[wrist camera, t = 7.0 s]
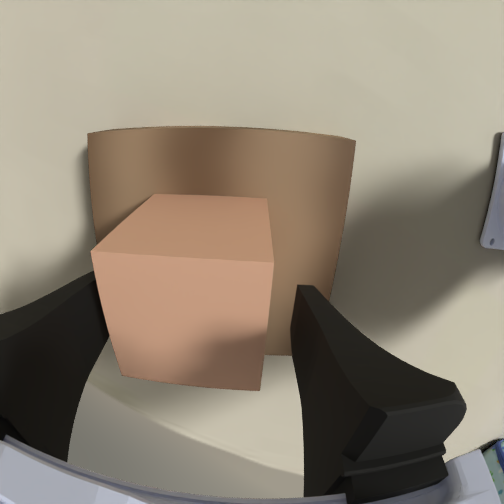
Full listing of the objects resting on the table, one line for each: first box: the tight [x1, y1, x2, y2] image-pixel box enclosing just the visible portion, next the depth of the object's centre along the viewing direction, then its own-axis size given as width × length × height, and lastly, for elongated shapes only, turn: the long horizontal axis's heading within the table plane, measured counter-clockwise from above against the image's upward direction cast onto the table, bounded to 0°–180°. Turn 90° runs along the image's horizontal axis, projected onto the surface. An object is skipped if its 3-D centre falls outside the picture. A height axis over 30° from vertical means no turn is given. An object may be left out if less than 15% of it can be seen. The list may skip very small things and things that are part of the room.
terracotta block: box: [91, 194, 274, 391], centre depth 11 cm, size 5×5×6 cm
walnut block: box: [87, 126, 356, 356], centre depth 16 cm, size 12×12×3 cm
